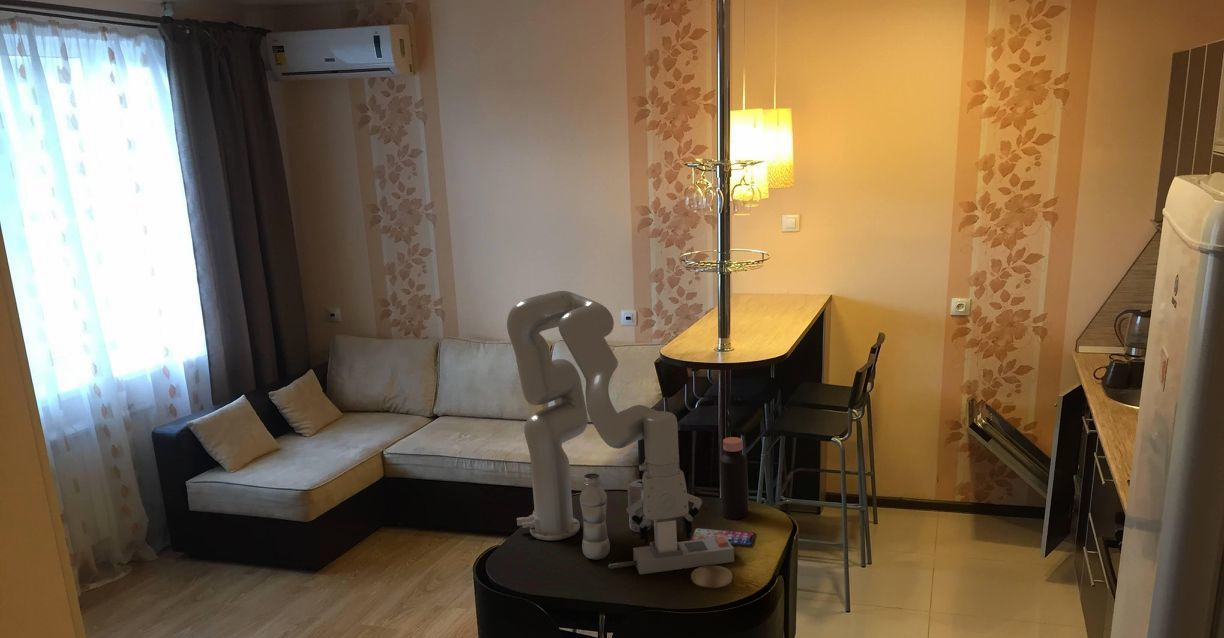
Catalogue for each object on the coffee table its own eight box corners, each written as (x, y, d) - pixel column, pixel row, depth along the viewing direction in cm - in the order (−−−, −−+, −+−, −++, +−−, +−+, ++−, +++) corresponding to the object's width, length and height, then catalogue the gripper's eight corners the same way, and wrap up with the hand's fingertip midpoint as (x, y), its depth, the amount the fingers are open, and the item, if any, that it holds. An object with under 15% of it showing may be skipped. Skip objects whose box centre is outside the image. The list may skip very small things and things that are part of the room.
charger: (659, 555, 188) (657, 522, 187) (655, 547, 192) (653, 514, 191) (677, 553, 189) (675, 520, 188) (672, 545, 193) (671, 512, 192)
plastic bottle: (596, 547, 201) (591, 468, 197) (616, 555, 196) (611, 475, 193) (576, 557, 197) (571, 476, 193) (596, 566, 192) (591, 483, 188)
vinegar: (727, 507, 220) (725, 434, 216) (752, 511, 216) (750, 437, 212) (717, 517, 214) (714, 442, 210) (742, 521, 211) (740, 446, 207)
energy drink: (654, 526, 211) (652, 481, 209) (644, 534, 207) (641, 488, 204) (636, 522, 214) (634, 477, 212) (625, 530, 209) (623, 485, 207)
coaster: (697, 590, 179) (697, 588, 179) (686, 570, 188) (686, 568, 187) (737, 584, 180) (737, 582, 180) (725, 565, 189) (725, 563, 189)
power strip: (611, 578, 186) (610, 560, 185) (606, 564, 192) (605, 547, 192) (734, 561, 191) (733, 544, 190) (725, 548, 197) (725, 532, 196)
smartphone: (694, 527, 208) (755, 532, 204) (695, 530, 208) (755, 535, 204) (688, 540, 201) (751, 545, 197) (688, 544, 201) (751, 549, 197)
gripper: (627, 477, 182) (631, 551, 185) (704, 468, 185) (707, 540, 188) (621, 465, 189) (625, 536, 192) (695, 457, 192) (698, 526, 195)
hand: (666, 538), depth 190 cm, fingers open, 9 cm apart
